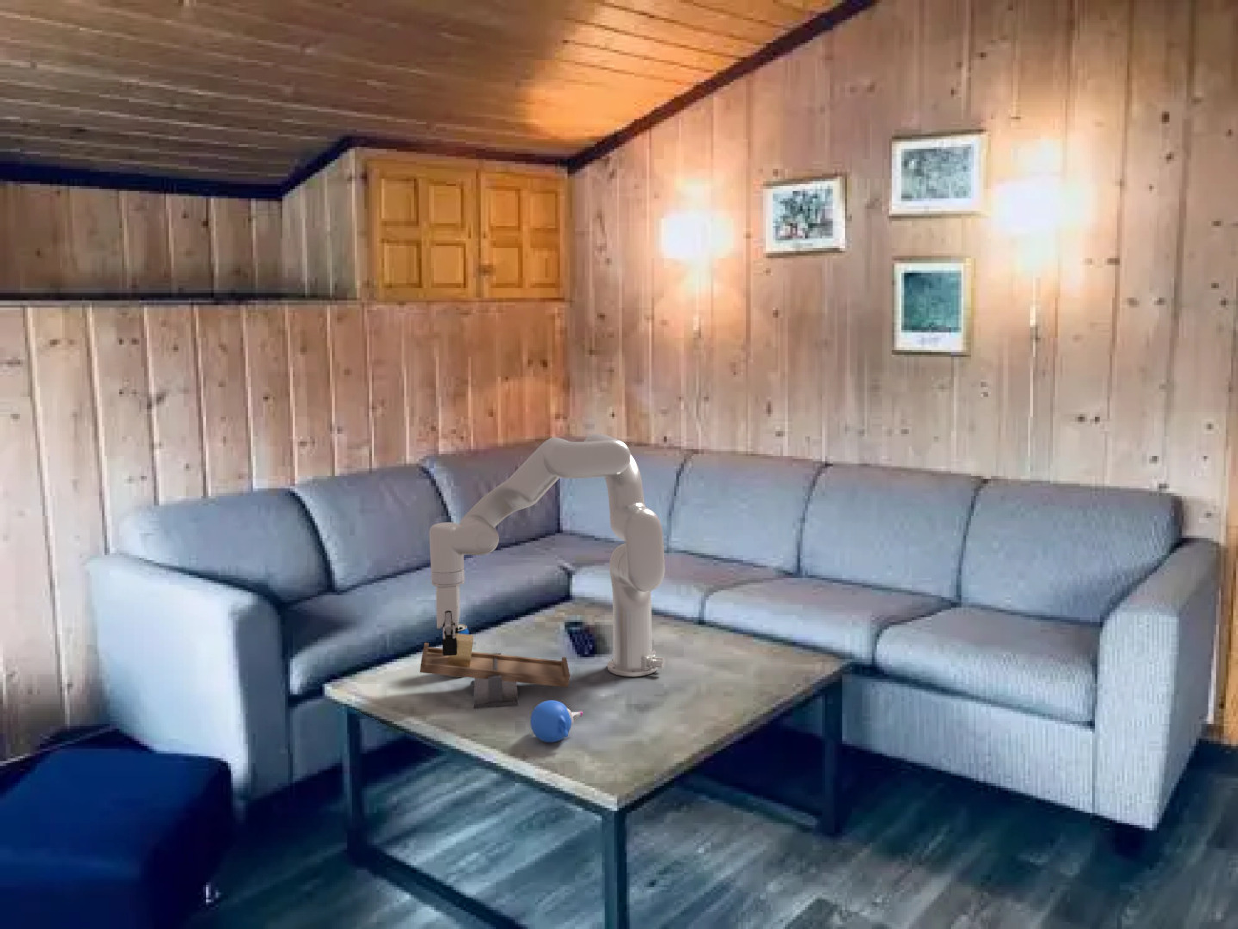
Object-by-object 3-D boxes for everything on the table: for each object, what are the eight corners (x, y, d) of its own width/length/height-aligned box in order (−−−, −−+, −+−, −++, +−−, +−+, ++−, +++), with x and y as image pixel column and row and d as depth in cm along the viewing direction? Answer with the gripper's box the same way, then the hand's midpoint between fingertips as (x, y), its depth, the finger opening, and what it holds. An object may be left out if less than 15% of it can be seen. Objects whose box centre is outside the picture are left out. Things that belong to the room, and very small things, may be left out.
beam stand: (516, 678, 258) (515, 651, 257) (518, 706, 240) (517, 677, 239) (474, 680, 257) (473, 653, 255) (473, 708, 239) (472, 680, 238)
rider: (470, 659, 249) (473, 635, 248) (469, 666, 244) (473, 642, 243) (448, 657, 248) (451, 633, 247) (447, 664, 243) (451, 639, 243)
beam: (564, 669, 256) (566, 656, 256) (568, 689, 243) (570, 675, 243) (423, 654, 252) (424, 641, 251) (419, 674, 239) (421, 660, 238)
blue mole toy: (597, 741, 220) (596, 703, 219) (547, 755, 214) (546, 716, 213) (569, 722, 231) (568, 685, 229) (520, 735, 224) (519, 697, 223)
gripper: (433, 567, 251) (436, 637, 253) (429, 587, 234) (432, 661, 236) (465, 566, 251) (467, 635, 254) (463, 586, 235) (466, 659, 237)
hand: (450, 648), depth 245 cm, fingers open, 9 cm apart
